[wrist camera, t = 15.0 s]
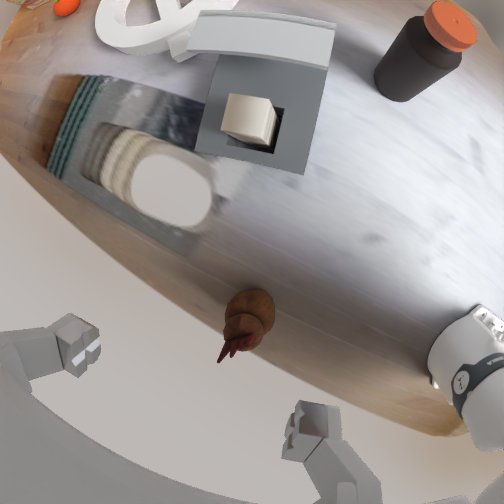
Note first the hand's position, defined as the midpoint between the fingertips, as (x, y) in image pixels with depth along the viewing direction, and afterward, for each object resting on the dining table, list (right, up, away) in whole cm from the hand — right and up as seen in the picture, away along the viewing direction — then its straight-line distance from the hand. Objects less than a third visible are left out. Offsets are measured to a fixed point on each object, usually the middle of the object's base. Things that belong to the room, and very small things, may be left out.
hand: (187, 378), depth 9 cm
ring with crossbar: (-13, +51, +22) cm, 57 cm away
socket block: (+4, +24, +25) cm, 35 cm away
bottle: (+23, +29, +21) cm, 42 cm away
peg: (+4, +21, +26) cm, 34 cm away
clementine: (-40, +63, +23) cm, 79 cm away
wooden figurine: (+3, -3, +33) cm, 34 cm away
